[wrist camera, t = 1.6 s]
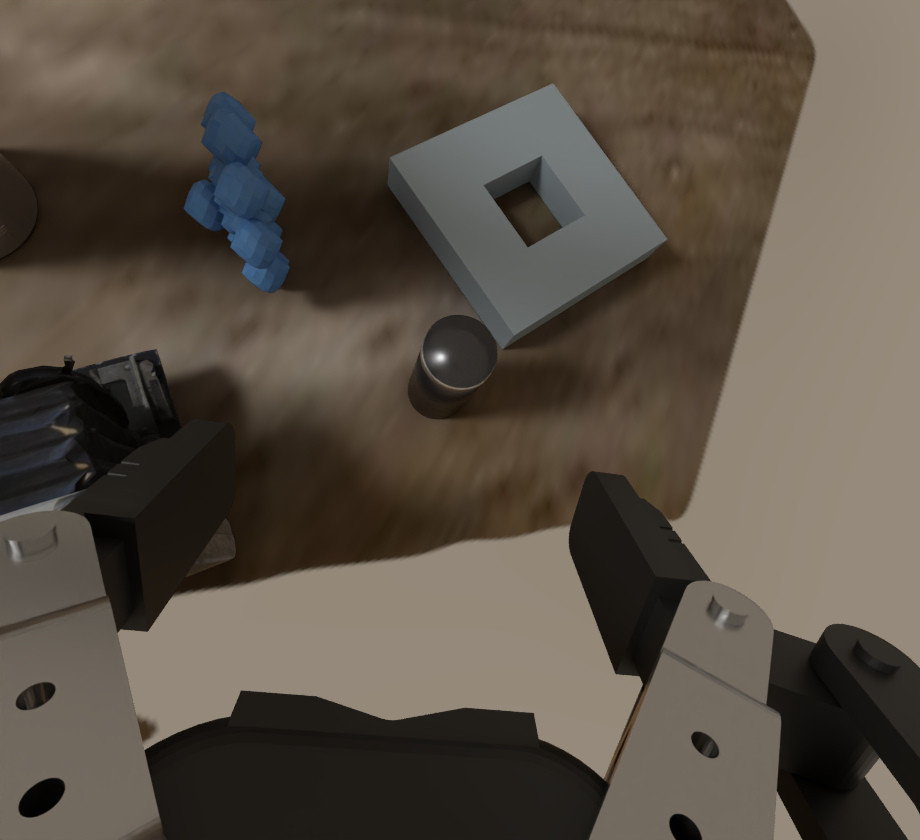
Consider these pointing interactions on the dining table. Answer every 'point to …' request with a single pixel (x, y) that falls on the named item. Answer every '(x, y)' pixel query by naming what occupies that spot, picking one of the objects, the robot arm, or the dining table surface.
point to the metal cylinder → (451, 365)
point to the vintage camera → (84, 433)
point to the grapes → (239, 193)
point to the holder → (489, 231)
